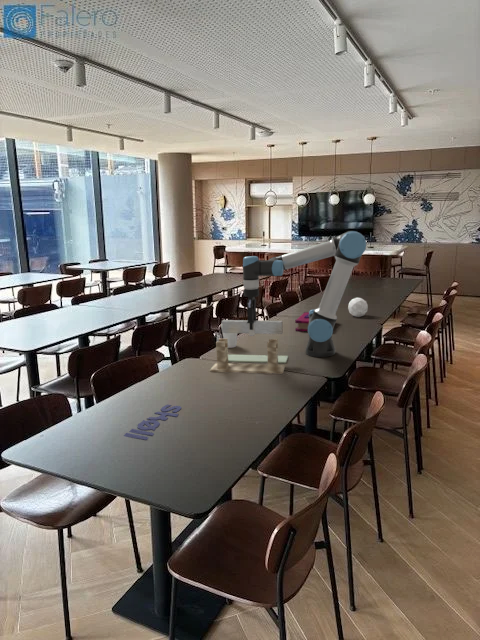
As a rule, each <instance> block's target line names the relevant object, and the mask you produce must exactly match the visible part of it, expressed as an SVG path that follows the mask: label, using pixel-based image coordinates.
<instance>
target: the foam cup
mask: <svg viewBox="0 0 480 640" xmlns="http://www.w3.org/2000/svg"><path fill="white" fill-rule="evenodd" d="M220 326H221V329H222V323H221V324H220ZM222 338H228V349H230V348H231V349H233V348H236V347H237V340H238V333H222Z"/></svg>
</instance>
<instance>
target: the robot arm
mask: <svg viewBox="0 0 480 640" xmlns="http://www.w3.org/2000/svg"><path fill="white" fill-rule="evenodd" d="M366 248H367V242H366V238H365V237H364V235H363V234H362V233H361V232H358V231H356V230H348V231H346V232H344V233H342V234H340V235H337V236H334V237H331V239H330V240H329V241H325V242H322V243H318V244H315V245H311V246H309V247H305V248H302V249H298V250H295V251H291V252H288V253H285V254H282V255H278V256H273V257H270V258H269V259H268V260H260V259H259V256H256V255H251V256H250V255H248V256H244V257H243V259H242V272H243V273H242V277H243V280H242V282H241V283H242V284H243V296H244V297H246V298H247V300H246V310H247V311H246V312H247V314H246V315H247V320H248V322H247V323H249V333H248V337H251V336H252V337H255V335H256V334H254V320H257V321H258V319H257V299H256V297H259V296H260V289H259V287H260V278H259V277H282V276H283V275H284V271H286V270H289V269H292V268H296V267H299V266H303V265H307V264H311V263H313V262H317V261H320V260H324V259H327V258H331V257H334V259H335V263H334V265H333V267H332V271H331V273H330V276H329V279H328V281H327V284H326V287H325V289H324V292H323V294H322V298H321V299H320V302H319V305H318V307H316V308H314V309H310V310H309V311H308V312H309V325H308V332H307V333H308V336H309V337H308V341H307V343H306V347H305V354H307V355H308V356H311V357H318V358H324V357H332V356H334V355H335V354H336V347H335V344H334V340H333V334H334V327H335V325H336V322H337V320H338V316H337V314H336V313H337V312H338V308H339V305H340V303H341V301H342V297H343V295H344V293H345V290H346V288H347V285H348V282H349V280H350V278H351V274H352V272H353V270H354V267H355V266H358V265H359V263H360V260H361V258H362V256H363V254H364V253H365V252H366Z"/></svg>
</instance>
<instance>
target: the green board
mask: <svg viewBox="0 0 480 640" xmlns="http://www.w3.org/2000/svg"><path fill="white" fill-rule="evenodd" d="M288 359H289V355H278V364H287V362H288ZM228 363H254V364H257V363H258V364H259V363H260V364H268V354H265V355H264V354H263V355H262V354H261V355H260V354H228Z"/></svg>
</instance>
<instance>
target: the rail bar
mask: <svg viewBox="0 0 480 640" xmlns="http://www.w3.org/2000/svg"><path fill="white" fill-rule="evenodd" d="M247 322H248V319H247V320H244V319H241V320H240V319H237V320H236V319H235V320H234V319H223V320H221V324H222V328H221V333H222V334H223V333H237V334H249V323H247ZM254 334H255V335H262V334H263V335H267V334H268V335H283V320H258V319H257V320H254Z"/></svg>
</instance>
